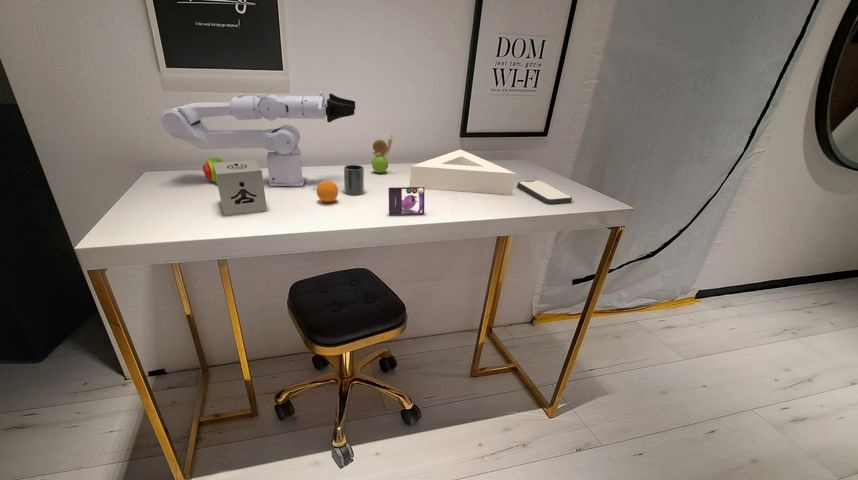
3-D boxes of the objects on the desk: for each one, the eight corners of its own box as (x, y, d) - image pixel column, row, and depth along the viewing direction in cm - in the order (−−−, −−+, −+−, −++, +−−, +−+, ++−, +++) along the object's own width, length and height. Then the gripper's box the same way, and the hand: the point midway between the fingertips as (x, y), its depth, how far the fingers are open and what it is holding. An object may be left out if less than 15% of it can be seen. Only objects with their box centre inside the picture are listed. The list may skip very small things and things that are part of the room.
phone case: (573, 203, 111) (539, 184, 124) (574, 197, 110) (540, 179, 123) (546, 205, 108) (514, 186, 121) (548, 200, 108) (516, 181, 120)
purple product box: (389, 187, 95) (425, 187, 96) (386, 188, 100) (420, 187, 101) (389, 215, 96) (425, 214, 98) (386, 214, 101) (420, 213, 103)
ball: (316, 205, 101) (315, 184, 98) (318, 197, 106) (316, 177, 103) (338, 205, 102) (337, 184, 99) (338, 198, 107) (338, 177, 104)
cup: (344, 195, 109) (343, 170, 105) (344, 188, 113) (344, 164, 110) (363, 195, 109) (363, 170, 106) (363, 189, 114) (363, 165, 110)
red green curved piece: (211, 188, 110) (206, 164, 106) (197, 170, 123) (192, 149, 120) (234, 184, 113) (230, 161, 109) (218, 168, 126) (214, 147, 123)
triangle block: (511, 195, 114) (516, 173, 111) (433, 204, 105) (435, 181, 102) (458, 167, 138) (460, 149, 134) (390, 173, 129) (391, 153, 125)
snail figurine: (390, 175, 127) (392, 136, 120) (371, 174, 127) (371, 135, 120) (391, 170, 131) (392, 133, 125) (372, 169, 131) (372, 132, 125)
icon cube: (220, 201, 101) (213, 162, 96) (260, 197, 105) (255, 159, 99) (224, 215, 93) (216, 174, 88) (267, 210, 97) (261, 170, 92)
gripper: (299, 95, 98) (353, 95, 98) (306, 87, 110) (355, 88, 110) (302, 124, 102) (354, 125, 102) (309, 114, 114) (355, 114, 114)
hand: (354, 107), depth 107 cm, fingers open, 7 cm apart
